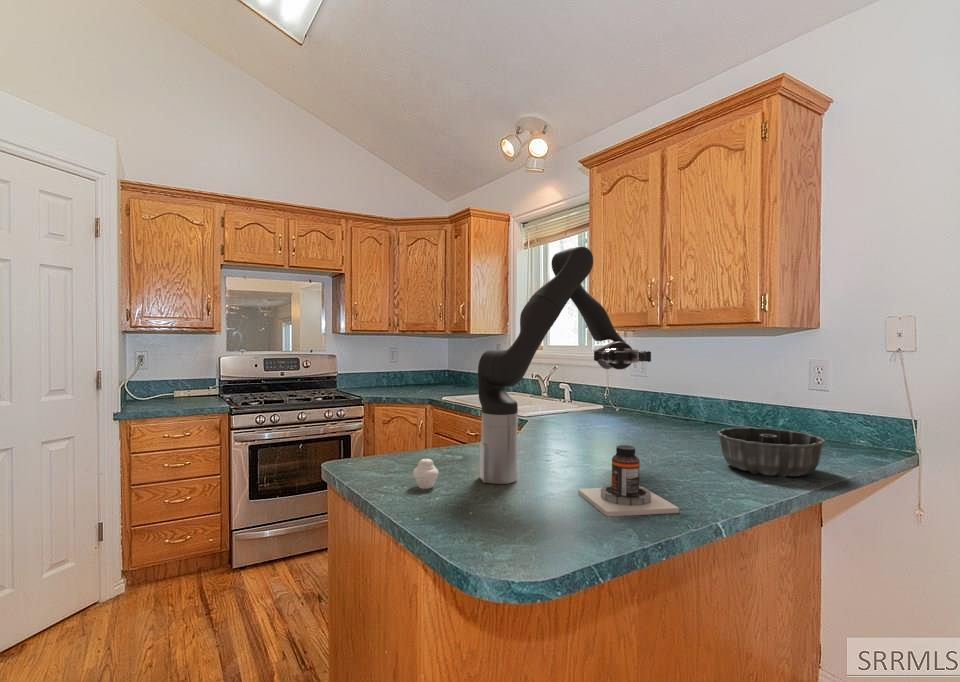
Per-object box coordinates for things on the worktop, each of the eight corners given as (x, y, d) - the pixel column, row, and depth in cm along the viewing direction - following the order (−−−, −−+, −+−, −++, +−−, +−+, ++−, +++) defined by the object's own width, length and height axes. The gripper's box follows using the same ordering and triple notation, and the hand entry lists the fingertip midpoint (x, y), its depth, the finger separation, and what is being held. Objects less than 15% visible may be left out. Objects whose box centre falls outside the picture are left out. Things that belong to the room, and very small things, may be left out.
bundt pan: (765, 485, 126) (766, 445, 126) (697, 461, 152) (697, 428, 152) (849, 480, 132) (850, 442, 132) (770, 457, 158) (770, 426, 158)
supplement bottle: (607, 493, 114) (608, 444, 114) (633, 493, 114) (633, 443, 114) (617, 502, 108) (617, 449, 108) (643, 501, 108) (644, 449, 108)
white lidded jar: (413, 483, 124) (413, 455, 124) (438, 483, 125) (438, 455, 125) (412, 491, 118) (412, 461, 118) (438, 490, 119) (438, 461, 119)
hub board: (606, 516, 102) (606, 511, 102) (578, 493, 118) (578, 488, 118) (679, 512, 104) (679, 508, 104) (641, 490, 120) (641, 486, 120)
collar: (613, 506, 105) (613, 499, 105) (593, 491, 115) (593, 485, 115) (659, 504, 107) (660, 497, 107) (636, 490, 117) (636, 483, 117)
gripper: (592, 341, 141) (595, 341, 125) (644, 342, 139) (654, 341, 123) (591, 368, 141) (594, 371, 125) (644, 369, 139) (654, 372, 123)
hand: (624, 356), depth 124 cm, fingers open, 8 cm apart
